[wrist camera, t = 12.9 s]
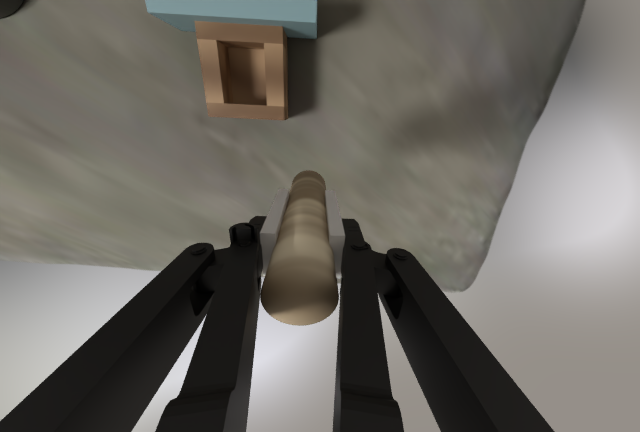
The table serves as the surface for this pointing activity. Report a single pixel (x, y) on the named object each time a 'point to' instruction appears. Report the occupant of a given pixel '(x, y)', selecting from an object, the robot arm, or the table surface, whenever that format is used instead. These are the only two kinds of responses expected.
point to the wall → (240, 14)
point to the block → (244, 70)
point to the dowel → (302, 258)
